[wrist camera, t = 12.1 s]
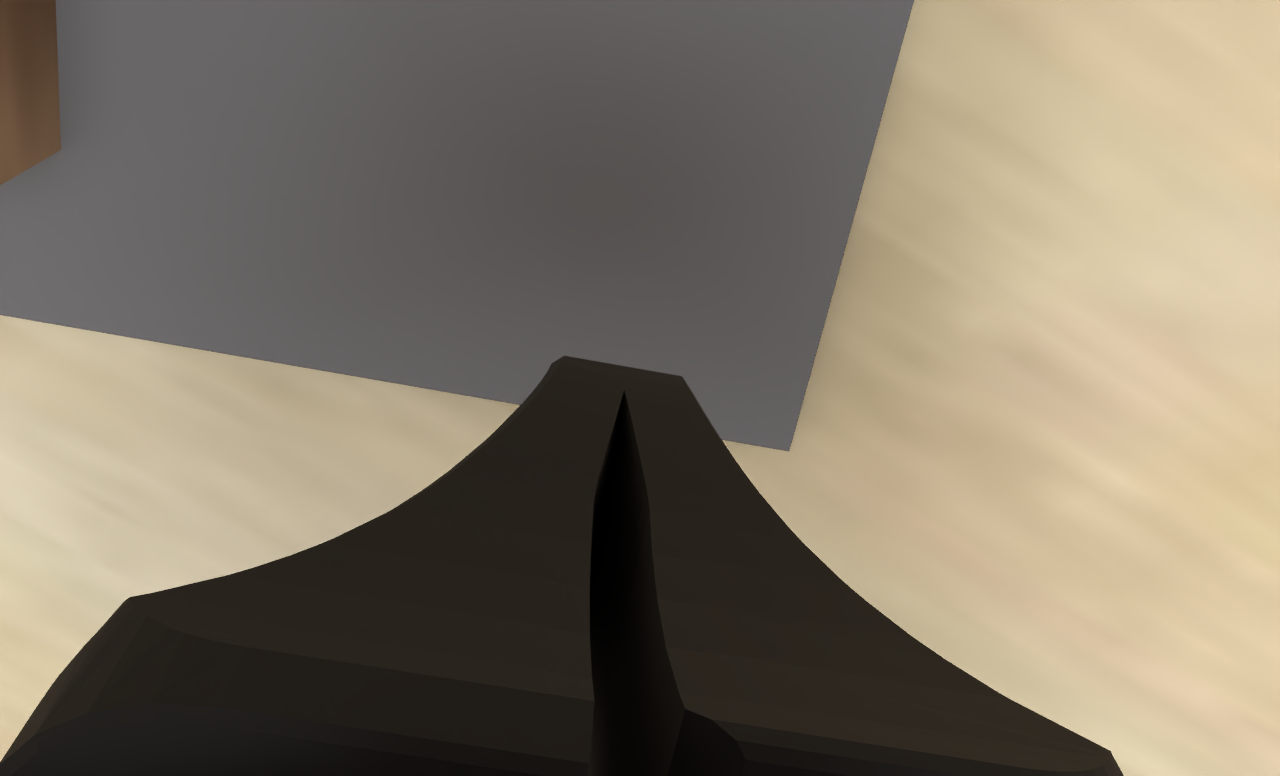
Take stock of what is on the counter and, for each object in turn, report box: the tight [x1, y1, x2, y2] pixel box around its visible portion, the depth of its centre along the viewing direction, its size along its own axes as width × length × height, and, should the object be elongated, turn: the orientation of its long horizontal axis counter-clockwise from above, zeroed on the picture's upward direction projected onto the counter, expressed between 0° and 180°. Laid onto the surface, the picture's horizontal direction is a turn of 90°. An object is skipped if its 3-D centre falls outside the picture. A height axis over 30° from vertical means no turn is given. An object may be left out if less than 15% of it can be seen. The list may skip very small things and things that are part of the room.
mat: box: [0, 0, 914, 451], centre depth 20 cm, size 13×23×1 cm, turn 80°
